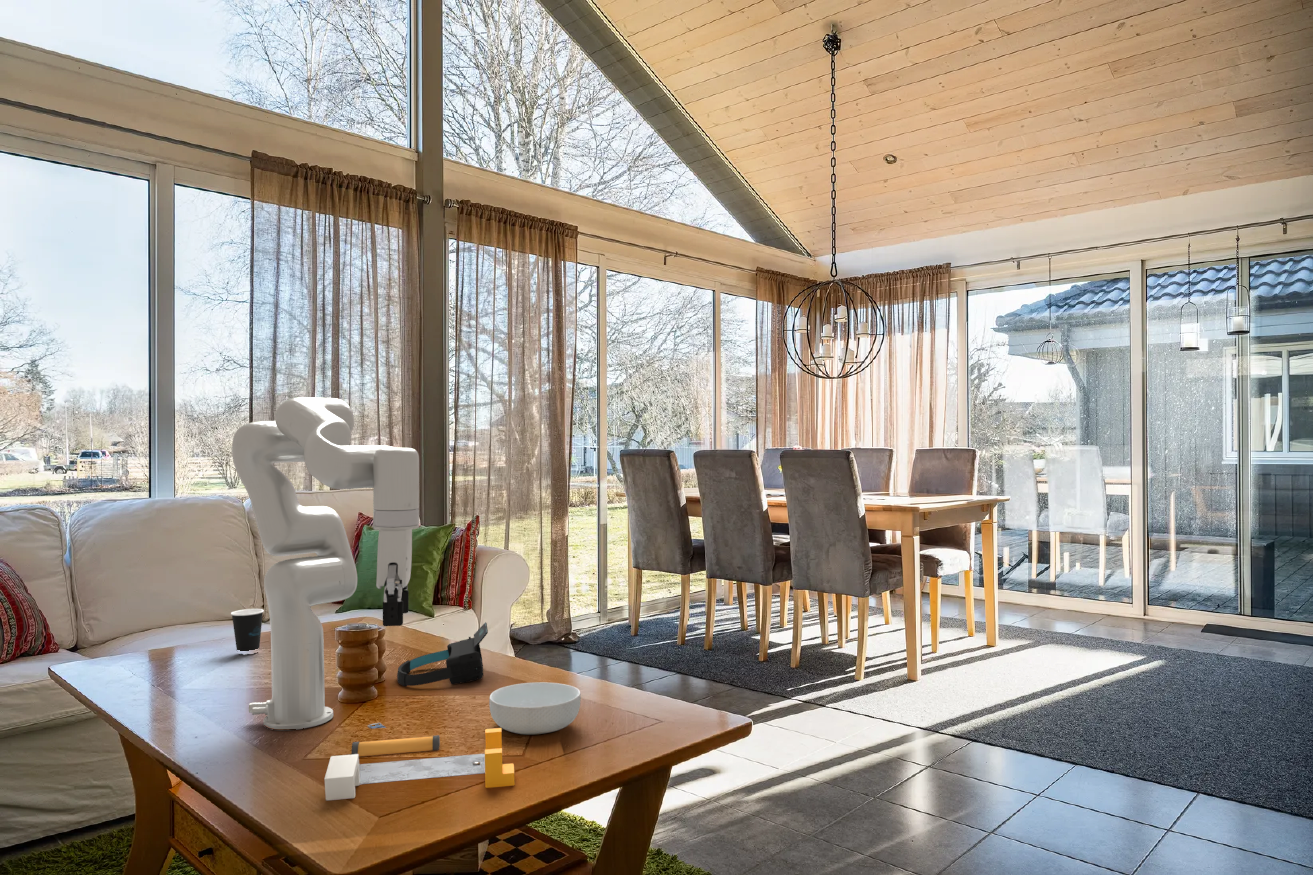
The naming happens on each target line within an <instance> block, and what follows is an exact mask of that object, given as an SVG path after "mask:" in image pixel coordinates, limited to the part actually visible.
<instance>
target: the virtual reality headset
mask: <svg viewBox="0 0 1313 875" xmlns="http://www.w3.org/2000/svg"><path fill="white" fill-rule="evenodd" d="M487 635H488V622H486V621H485V622H484V623H483V624H482V626H480V627H479V628H478V630H477V631H475V632H474V634H473V637H471V636H468V638H466V639H461V640H459V641H455V642H451V643H449V644H447V646H446V647H447V649H444V650H440V651H435V652H432V653H428V654H424V655H421V656H418V657H415V658H413V659H411V660H410V659H408V660H406V661H405V662H403V663H402V664H400V665H398V668H397V673H396V677H397V679H396V680H397V683H398V684H399V685H401V686H403V687H407V686H409V687H410V686H423V685H427V684H432V683H436V682H440V681H445V680H448V679H449V683H450V684H451V685H457V684H462V683H468V682H473V681H477V680H482V679H483V677H484V666H483V665H484V664H483V658H482V657H483V656H482V650H481V645H480V643H482V641H483V640H484V639H485V637H486V636H487ZM440 661H445V666H446V667H445V668H441V669H435V670H432V671H427V672H423V673H416V674H410V673H411V671H413V670H414V669H415V670H416V669H417V668H419V667H422V666H426V665H430V664H432V663H437V662H440Z"/></svg>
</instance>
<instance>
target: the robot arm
mask: <svg viewBox="0 0 1313 875" xmlns="http://www.w3.org/2000/svg"><path fill="white" fill-rule="evenodd" d="M274 414H275V415H274V420H260V421H252V422H247V423H246V424H243V425H241V426H239V427H238V429H237V430H236V431H235V433H234V435H233V437H232V441H231V442H232V443H231V444H232V446H231V455H232V456H231V457H232V462H233V465H234V469H235V471H236V473H237V476H238V477H239V480H240V481H241V483H242V485H243V486H244V488H245V491H246V492H247V494H248V497H249V500H250V503H251V508H252V512H253V515H254V519H255V523H256V528H257V530H258V535H259V538H260V541H261V545H262V546H263V549H264V550H265V552H266V553H267V554H269V555H270V556H275V557H287V556H297V555H305V554H314V553H315V554H316V556H305V557H303V556H302V557H296V558H289V559H285V560H284V559H283V560H281V561H279V562H276V563H274V564H272V565H271V566H270V567H269V568H268V569H267V571H266V573H265V575H264V580H263V588H264V593H265V597H266V601H267V607H268V614H269V623H270V624H269V626H270V656H271V657H270V658H271V659H270V660H271V661H270V663H271V664H270V666H271V699H267V700H266V701H264V702H260V701H258V702H257V701H256V702H249V704H248V713H250V714H251V715H253V716H254V715H255V716H256V715H263V714H264V715H265V717H264V718H263V726H264V725H266V726H268V727H270V728H274V729H296V730H302V729H303V728H304V729H308V728H313V727H316V726H319V725H323V724H324V723H325V724H326V723H327V722H329V721H330V720H332V719H333V717H334V710H333V709H332V708H331V707H330V706H325V703H326V702H325V699H326V698H325V656H324V655H325V653H324V652H325V650H324V649H325V646H324V644H325V643H324V628H323V624H322V622H321V620H320V618H318V616H317V615H316V614H315V612H314V611H313V609H312V608H311V607H312V606H317V605H322V604H327V603H334V602H335V603H336V602H339V601H344V600H346V599H349V598H350V597H352V596H353V595H354V593H355V592H356V590H357V586H358V572H357V566H356V563H355V559H354V556H353V553H352V549H351V545H350V541H349V539H348V536H347V531H346V529H345V525H344V522H343V520H342V518H341V517H340V515H339V513H338V512H337V511H336V510H335V509H333V508H332V507H329V506H325V505H312V506H311V505H310V506H303V505H301V504H300V502H299V498H298V497H297V496H298V495H297V493H296V489H295V486H294V485H293V483H292V481H291V480H290V479H289V478H288V477H287V475H285V474H284V472H282V471H281V470H279V469H278V468H277V467H275V465H274V464H275V463H277V464H278V463H279V464H281V463H285V464H286V463H304V464H305V466H306V470H307V471H308V473H309V474H310V476H312V477H313V479H315V480H317V481H319V482H320V483H321V484H323V485H325V486H326V487H328V488H330V489H333V490H334V489H335V490H354V489H355V490H356V489H357V490H358V489H373V490H372V493H373V494H372V495H373V497H372V498H373V499H372V502H373V503H372V504H373V505H372V506H373V510H372V511H373V512H372V513H373V514H372V515H373V517H372V518H373V519H372V520H373V521H372V522H373V527H372V528H373V530H375V531H377V530H378V538H377V553H376V554H377V559H376V561H377V562H376V585H375V586H376V588H377V589H379V590H381V589H382V588H383V587H384V590H383V601H382V626H383V627H400V626H401V627H402V626H403V624H404V614H408V613H409V609H410V608H409V604H410V603H409V598H410V597H409V594H410V593H409V592H410V590H408V584H409V583H410V579H411V576H412V574H411V572H412V557H413V556H412V554H413V530H416V529H419V528H420V455H419V452H418V450H416V449H415V448H412V447H394V446H392V445H391V446H390V445H382V444H381V445H370V444H369V445H350V444H351V439H352V432H353V429H354V427H355V415H354V412H353V410H352V408H351V407H350V405H349V404H348V403H347V402H345V401H344V400H343V399H339V398H335V397H311V396H309V397H308V396H307V397H306V396H299V397H292V398H289V399H286V400H285V401H283V402H282V403H280V405H279V406H277V409H276V410H275V413H274Z"/></svg>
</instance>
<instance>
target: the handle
mask: <svg viewBox="0 0 1313 875" xmlns="http://www.w3.org/2000/svg"><path fill="white" fill-rule="evenodd" d="M440 746H441V740H440V735H437V734H436V735H432V736H431V735H430V736H421V737H408V738H407V737H406V738H397V739H385V740H383V739H381V740H371V741H370V740H369V741H353V742H352V743H351V754H350V755H352V754H359V757H367V756H368V757H369V756H370V757H371V756H381V755H393V754H405V753H417V752H429V751H439V750H440Z"/></svg>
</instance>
